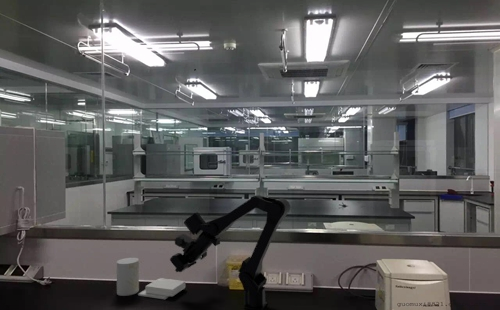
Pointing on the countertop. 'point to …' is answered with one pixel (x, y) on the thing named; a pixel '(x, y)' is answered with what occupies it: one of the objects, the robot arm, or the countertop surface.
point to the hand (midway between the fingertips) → (176, 271)
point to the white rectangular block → (165, 287)
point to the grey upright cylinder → (127, 276)
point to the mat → (152, 295)
